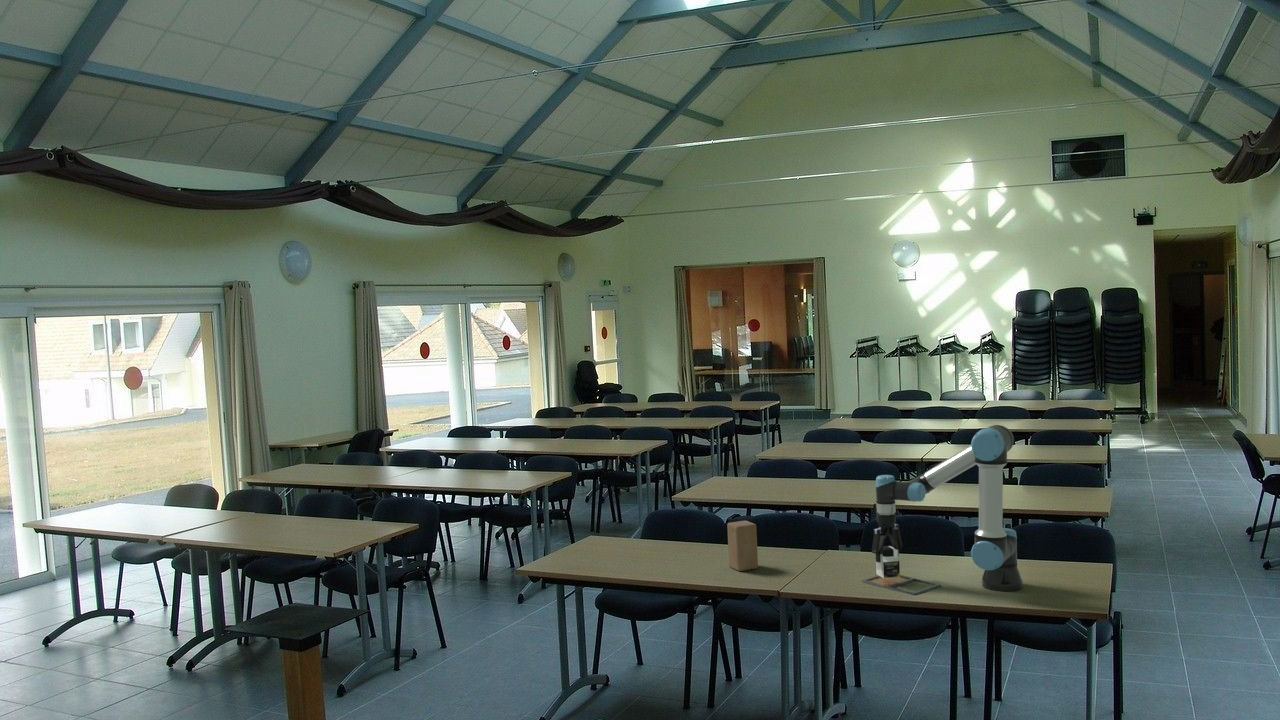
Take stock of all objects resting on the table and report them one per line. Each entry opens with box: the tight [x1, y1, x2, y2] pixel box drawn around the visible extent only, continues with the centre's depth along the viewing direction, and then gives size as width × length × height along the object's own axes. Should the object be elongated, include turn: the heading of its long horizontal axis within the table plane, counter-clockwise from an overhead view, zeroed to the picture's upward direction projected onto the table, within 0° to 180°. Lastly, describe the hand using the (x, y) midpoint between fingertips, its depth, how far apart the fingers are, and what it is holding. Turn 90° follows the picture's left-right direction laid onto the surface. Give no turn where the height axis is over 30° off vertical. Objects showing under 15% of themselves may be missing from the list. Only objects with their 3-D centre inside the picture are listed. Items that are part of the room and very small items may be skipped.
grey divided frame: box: [861, 574, 942, 596], centre depth 395 cm, size 26×17×1 cm, turn 37°
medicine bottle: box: [875, 545, 901, 579], centre depth 399 cm, size 7×7×12 cm
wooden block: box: [727, 520, 759, 572], centre depth 430 cm, size 10×10×20 cm
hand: (887, 567), depth 400 cm, fingers closed on medicine bottle, 9 cm apart
